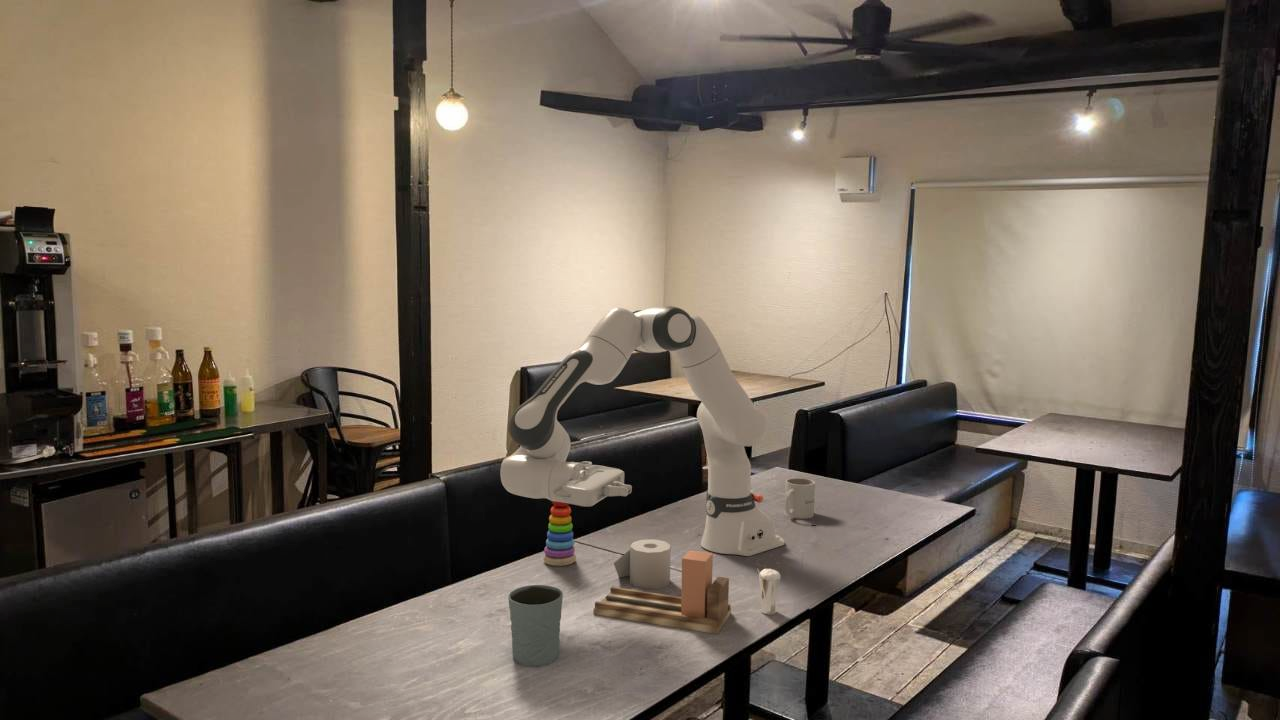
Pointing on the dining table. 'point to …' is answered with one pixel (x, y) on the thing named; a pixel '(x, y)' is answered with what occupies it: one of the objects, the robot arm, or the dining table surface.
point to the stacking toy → (560, 536)
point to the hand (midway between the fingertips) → (629, 490)
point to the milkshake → (769, 590)
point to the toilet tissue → (646, 564)
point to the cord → (644, 603)
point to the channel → (711, 623)
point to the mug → (799, 498)
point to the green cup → (535, 624)
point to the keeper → (696, 583)
